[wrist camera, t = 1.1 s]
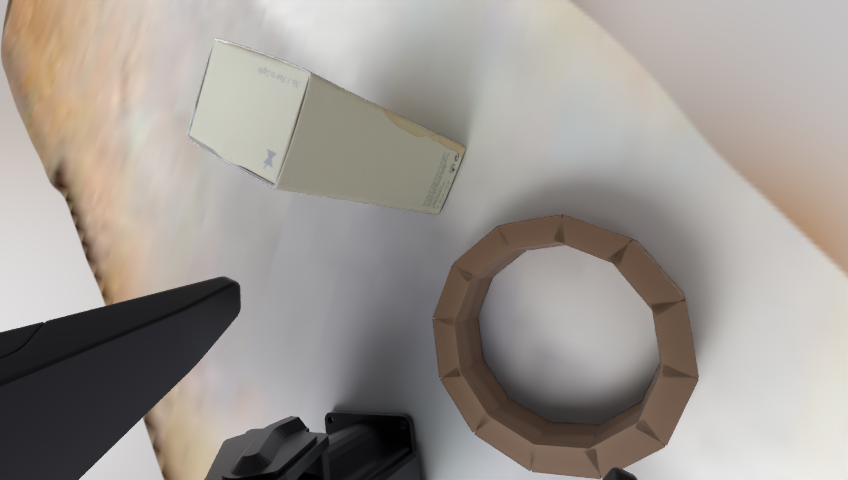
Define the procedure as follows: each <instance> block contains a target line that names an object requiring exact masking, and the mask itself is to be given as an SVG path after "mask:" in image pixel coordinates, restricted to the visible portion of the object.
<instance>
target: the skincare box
mask: <svg viewBox="0 0 848 480" xmlns="http://www.w3.org/2000/svg"><path fill="white" fill-rule="evenodd" d="M187 138H188V139H189V140H191V141H192V142H194V143H195V144H197V145H199V146H200V147H202V148H203V149H205V150H207V151H208V152H210V153H211V154H213V155H215V156H216V157H218V158H220V159H221V160H223V161H224V162H226V163H228V164H230V165H232V166H234V167H235V168H237V169H239V170H241V171H242V172H244V173H246V174H248V175H250V176H252V177H253V178H255V179H257V180H259V181H261V182H263V183H265V184H267V185H268V186H270V187H272V188H274V189H278V190H284V191H290V192H296V193H303V194H310V195H316V196H323V197H328V198H335V199H341V200H348V201H354V202H360V203H367V204H373V205H380V206H386V207H392V208H398V209H405V210H412V211H418V212H424V213H430V214H439V213H440V211H441V208H442V205H443V203H444V201H445V199H446V196H447V194H448V192H449V189H450V187H451V184H452V182H453V180H454V177H455V175H456V172H457V170H458V167H459V165H460V162H461V159H462V157H463V154H464V152H465V147H464V146H463V145H461V144H458V143H457V142H454V141H452V140H450V139H448V138H446V137H444V136H442V135H439V134H437V133H435V132H433V131H431V130H429V129H426V128H424V127H422V126H420V125H418V124H416V123H413V122H411V121H409V120H407V119H405V118H403V117H401V116H399V115H397V114H395V113H393V112H391V111H388V110H386V109H384V108H382V107H380V106H378V105H376V104H374V103H372V102H370V101H368V100H366V99H364V98H362V97H360V96H357V95H355V94H353V93H351V92H349V91H347V90H345V89H343V88H341V87H339V86H337V85H335V84H333V83H331V82H329V81H327V80H326V79H324V78H322V77H320V76H318V75H316V74H314V73H312V72H310V71H308V70H306V69H303V68H301V67H299V66H297V65H294V64H292V63H289V62H287V61H284V60H282V59H279V58H276V57H274V56H271V55H268V54H265V53H263V52H260V51H257V50H254V49H251V48H248V47H245V46H242V45H239V44H235V43H232V42H229V41H226V40H222V39H218V38H216V39H215V40H214V41H213V44H212V47H211V50H210V54H209V58H208V62H207V65H206V68H205V71H204V75H203V78H202V82H201V85H200V88H199V92H198V95H197V98H196V102H195V106H194V109H193V113H192V116H191V119H190V123H189V127H188V129H187Z"/></svg>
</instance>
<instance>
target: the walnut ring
mask: <svg viewBox="0 0 848 480" xmlns="http://www.w3.org/2000/svg"><path fill="white" fill-rule="evenodd" d="M561 245H567V246H570V247H573V248H575V249H578V250H580V251H583V252H585V253H588V254H591V255H593V256H596V257H598V258H601V259H603V260H606V261H609V262H611V263H613V264H614V265H615V266H616V268H617V269H618V270H619V271H620V272H621V274H622V275H623V276H624V277H625V278H626V280H627V281H628V282H629V283H630V284H631V286H632V287H633V288H634V289H635V290H636V291H637V293H638V294H639V295H640V296H641V297H642V299H643V300H644V301H645V302H646V303H647V305H648V306H649V307H650V308H651V309H652V312H653V318H654V324H655V330H656V336H657V342H658V348H659V354H660V360H661V362H660V364H659V366H658V368H657V371H656V373H655V375H654V377H653V379H652V381H651V383H650V386H649V388H648V390H647V392H646V394H645V396H644V398H643V401H641V402H640V403H638V404H636V405H634V406H633V407H631V408H629V409H627V410H625V411H624V412H622V413H620V414H618V415H616V416H615V417H613V418H611V419H609V420H608V421H606V422H604V423H602V424H600V425H588V424H568V423H550V422H548V421H547V420H545V419H543V418H542V417H540V416H538V415H537V414H535V413H533V412H532V411H530V410H528V409H527V408H525V407H523V406H522V405H520V404H518V403H517V402H515V401H513V400H511V399H510V398H508V396H507V395H506V393H505V392H504V390H503V388H502V387H501V385H500V384H499V382H498V381H497V379H496V378H495V376H494V375H493V373H492V372H491V370H490V369H489V367H488V366H487V364H486V363H485V361H484V360H483V354H482V346H481V338H480V330H479V322H478V314H479V311H480V309H481V306H482V304H483V301H484V299H485V296H486V293H487V291H488V288H489V286H490V283H491V281H492V278H493V277H494V276H495V275H496V274H497V273H499V272H500V271H501V270H502V269H504V268H505V267H506V266H507V265H509V264H510V263H511V262H512V261H514V260H515V259H516V258H518V257H519V256H520V255H521V254H523V253H524V252H525V251H526V250H533V249H540V248H547V247H554V246H561ZM433 318H435V319H433V327H434V335H435V344H436V353H437V361H438V370H439V377H442V378H441V379H440V380H441V382H442V383H443V385H444V387H445V388H446V390H447V391H448V393H449V395H450V396H451V398H452V400H453V401H454V403H455V404H456V406H457V408H458V409H459V411H460V413H461V414H462V416H463V417H464V419H465V421H466V422H467V424H468V426H469V427H470V429H471V431H472V432H475V435H476V436H478V437H479V438H481V439H482V440H484V441H485V442H487V443H488V444H490V445H491V446H493V447H494V448H496V449H497V450H499V451H500V452H502V453H503V454H505V455H506V456H508V457H509V458H511V459H512V460H514V461H515V462H517V463H518V464H520V465H521V466H523V467H524V468H526V469H527V470H529V471H530V470H531V469H532V472H538V473H547V474H557V475H566V476H576V477H585V478H595V479H601V477H602V478H604V477H605V476H606V475H607V473H608V472H609V471H610V470H611V469H612V468H613V467H619V468H621V469H623V468H625V467H627V466H629V465H631V464H633V463H635V462H637V461H639V460H641V459H643V458H645V457H647V456H648V455H650V454H652V453H654V452H656V451H658V450H660V449H662V448H664V447H665V445H667V444H668V442H669V440H670V438H671V436H672V433H673V431H674V429H675V427H676V425H677V423H678V421H679V419H680V417H681V415H682V413H683V411H684V409H685V407H686V405H687V403H688V401H689V398H690V396H691V394H692V392H693V390H694V388H695V386H696V384H697V382H698V377H699V375H698V370H697V364H696V358H695V352H694V347H693V341H692V335H691V329H690V323H689V318H688V312H687V306H686V301H685V297H684V295H683V293H682V291H681V290H680V289H679V288H678V287H677V286H676V285H675V283H674V282H673V281H672V280H671V279H670V278H669V277H668V276H667V274H666V273H665V272H664V271H663V270H662V269H661V268H660V266H659V265H658V264H657V263H656V262H655V261H654V260H653V259H652V257H651V256H650V255H649V254H648V253H647V252H646V251H645V249H644V248H643V247H642V246H641V245H640V244H639V243H638V242H637V241H635V240H633V239H631V238H628V237H625V236H622V235H619V234H617V233H614V232H611V231H608V230H605V229H602V228H600V227H597V226H594V225H591V224H588V223H586V222H583V221H580V220H577V219H574V218H572V217H569V216H566V215H555V216H550V217H544V218H538V219H532V220H527V221H521V222H515V223H509V224H504V225H499V226H497V227H496V228H495V229H493V230H492V231H491V232H490V233H489V234H487V235H486V236H485V237H484V238H483V239H481V240H480V241H479V242H478V243H477V244H476V245H474V246H473V247H472V248H471V249H470V250H468V251H467V252H466V253H465V254H464V255H463V256H461V257H460V258H459V259H458V260H457V261H455V262H454V265H452V267H451V270H450V273H449V275H448V278H447V281H446V283H445V286H444V289H443V291H442V294H441V297H440V299H439V302H438V305H437V307H436V310H435V313H434V316H433Z"/></svg>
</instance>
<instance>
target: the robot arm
mask: <svg viewBox="0 0 848 480" xmlns="http://www.w3.org/2000/svg"><path fill="white" fill-rule="evenodd" d="M240 308H241V297H240V285H239V283H238V282H236V281H234V280H232V279H230V278H228V277H218V278H214V279H210V280H206V281H202V282H198V283H194V284H190V285H186V286H182V287H178V288H174V289H170V290H167V291H163V292H159V293H155V294H151V295H147V296H143V297H139V298H135V299H131V300H127V301H123V302H119V303H115V304H112V305H108V306H104V307H100V308H96V309H92V310H88V311H85V312H81V313H77V314H73V315H68V316H65V317H61V318H57V319H53V320H49V321H46V322H45V323H43V322H41V323H37V324H33V325H29V326H25V327H21V328H17V329H12V330H8V331H4V332H0V480H79V479H80V478H81V477H82V476H83V475H84V474H85V473H86V472H87V471H88V470H89V469H90V468H91V467H92V466H93V465H94V464H95V463H96V462H97V461H98V460H99V459H100V458H101V457H102V456H103V455H104V454H105V453H106V452H107V451H108V450H109V449H110V448H112V446H114V445H115V444H116V443H117V442H118V441H119V440H120V439H121V438H122V437H123V436H124V435H125V434H126V433H127V432H128V431H129V430H130V429H131V428H132V427H133V426H134V425H135V424H136V423H137V422H138V421H139V420H140V419H141V418H142V417H143V416H144V415H145V414H146V413H147V412H149V411H150V410H151V409H152V408H153V407H154V406H155V405H156V404H157V403H158V402H159V401H160V400H161V399H162V398H163V397H164V396H165V395H166V394H167V393H168V392H169V391H170V390H171V389H172V388H173V387H174V386H175V385H176V384H177V383H178V382H179V381H180V380H181V379H182V378H183V377H184V376H186V375H187V374H188V373H189V372H190V371H191V369H192V368H193V367H194V366H195V365H196V364H197V363H198V362H199V361H200V360H201V359H202V358H203V356H204V355H205V354H206V353H207V352H208V350H209V349H210V348H211V347H212V346H213V345H214V343H215V342H216V341H217V340H218V339H219V337H220V336H221V335H222V334H223V333H224V331H225V330H226V329H227V328H228V327H229V326H230V324H231V323H232V322H233V321H234V320H235V318H236V317H237V316H238V314H239V312H240ZM332 417H333V419H334V422H333V420H332ZM402 421H404V422H405V423H406V427H405V426H404V425H403V423H402ZM325 425H326V434H325V433H314V432H309V428H307V427H306V426H305V425H304V423H303V422H302V421H301V419H300V418H299V417H292V416H290V417H288V418H285V419H283V420H280V421H278V422H276V423H273V424H271V425H269V426H267V427H266V428H264V429H252V430H249V431H247V432H246V433H245V434H243V435H240V436H236V437H233V438H230V439H227V440H225V441H224V442H223V444H222V446H221V448H220V450H219V452H218V454H217V456H216V458H215V460H214V462H213V464H212V466H211V468H210V470H209V472H208V474H207V476H206V478H205V480H421V479H420V470H419V460H418V455H417V453H416V444H415V435H414V426H413V421H412V418H411V417H410V416H409V415H407V414H394V413H373V412H352V411H331V412H329V413H327V414H326V416H325ZM602 480H638V479H637V478H636V477H635V476H634V475H633V474H631V473H629V472H627V471H625V470H623V469H621V468H619V467H613V468H612V469H611V470H610V471H609V472H608V473H607V475H606V476H605V477H604V478H603V479H602Z"/></svg>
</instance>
